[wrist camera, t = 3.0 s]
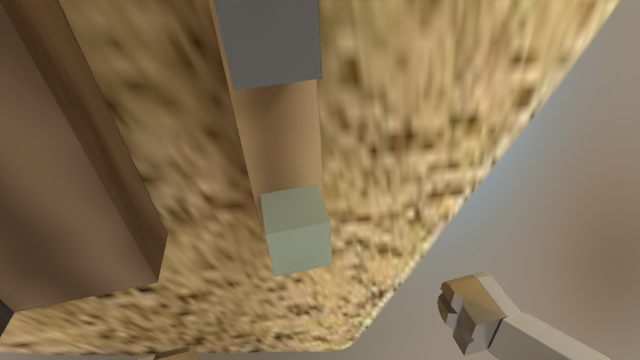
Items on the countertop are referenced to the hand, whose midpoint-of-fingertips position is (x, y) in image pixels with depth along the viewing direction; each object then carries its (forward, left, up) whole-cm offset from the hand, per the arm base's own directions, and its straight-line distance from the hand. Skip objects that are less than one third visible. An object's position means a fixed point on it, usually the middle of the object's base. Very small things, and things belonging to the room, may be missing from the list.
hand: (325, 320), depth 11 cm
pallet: (0, 0, -17) cm, 17 cm away
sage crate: (0, +6, -13) cm, 14 cm away
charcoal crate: (0, -7, -13) cm, 14 cm away
